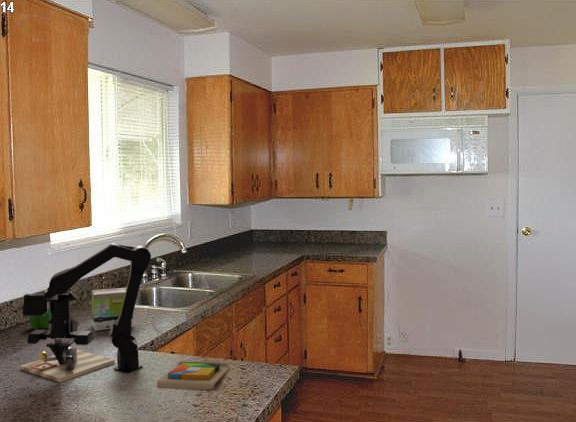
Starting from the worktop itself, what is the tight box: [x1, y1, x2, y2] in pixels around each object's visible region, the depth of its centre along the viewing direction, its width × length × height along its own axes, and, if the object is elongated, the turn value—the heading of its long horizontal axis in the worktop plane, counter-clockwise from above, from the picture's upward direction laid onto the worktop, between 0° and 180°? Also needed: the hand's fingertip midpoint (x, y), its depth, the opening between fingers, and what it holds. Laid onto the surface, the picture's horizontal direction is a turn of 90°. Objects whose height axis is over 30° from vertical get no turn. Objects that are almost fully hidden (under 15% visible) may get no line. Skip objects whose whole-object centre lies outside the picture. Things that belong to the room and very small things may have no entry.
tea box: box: [91, 287, 134, 332], centre depth 235 cm, size 15×10×15 cm, turn 114°
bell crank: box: [38, 345, 78, 371], centre depth 187 cm, size 11×20×5 cm, turn 23°
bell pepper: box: [28, 307, 50, 330], centre depth 234 cm, size 8×8×10 cm
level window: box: [31, 362, 57, 371], centre depth 185 cm, size 6×6×1 cm
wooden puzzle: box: [156, 360, 230, 391], centre depth 177 cm, size 18×19×4 cm
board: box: [20, 349, 116, 383], centre depth 189 cm, size 21×20×1 cm
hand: (61, 364), depth 180 cm, fingers closed
